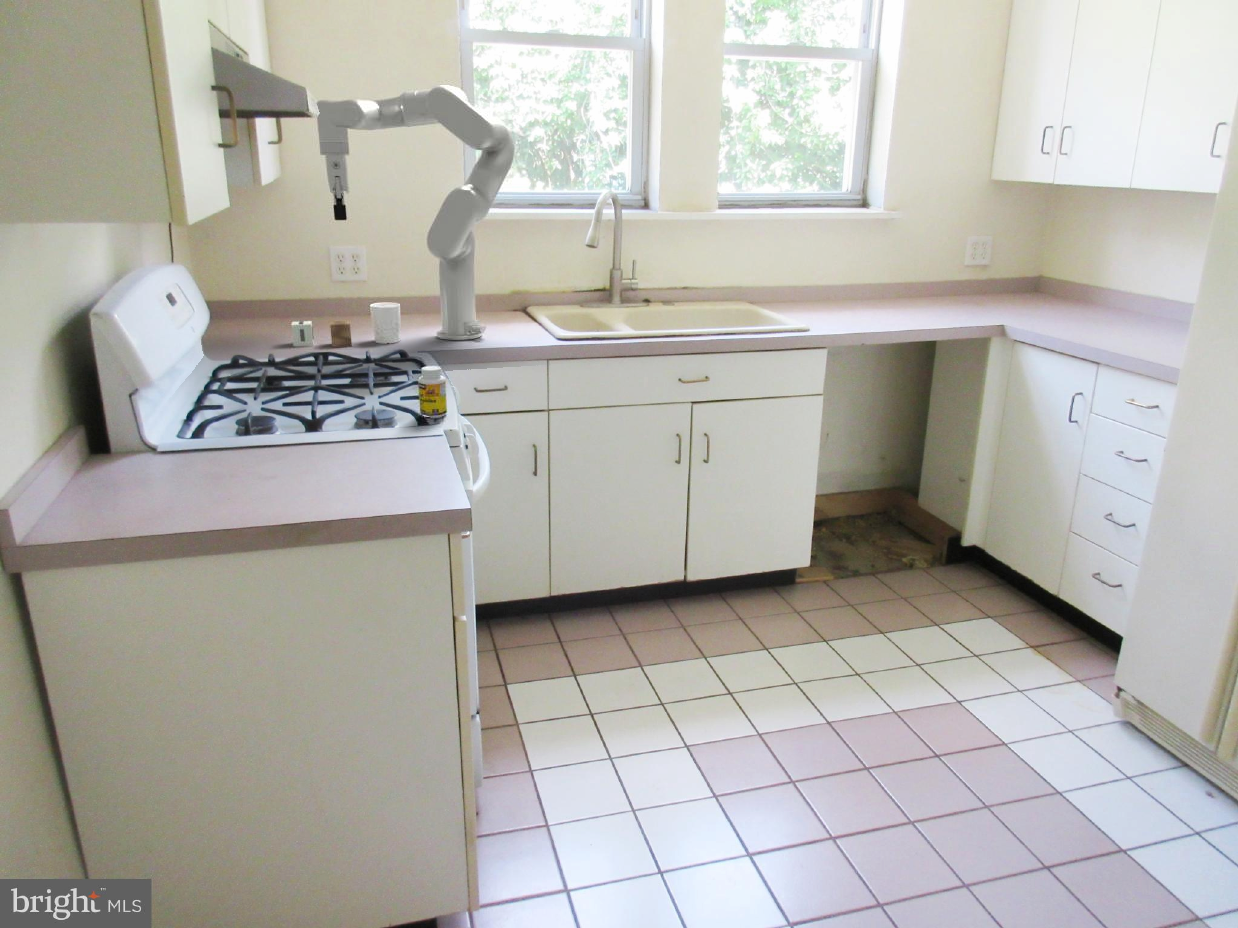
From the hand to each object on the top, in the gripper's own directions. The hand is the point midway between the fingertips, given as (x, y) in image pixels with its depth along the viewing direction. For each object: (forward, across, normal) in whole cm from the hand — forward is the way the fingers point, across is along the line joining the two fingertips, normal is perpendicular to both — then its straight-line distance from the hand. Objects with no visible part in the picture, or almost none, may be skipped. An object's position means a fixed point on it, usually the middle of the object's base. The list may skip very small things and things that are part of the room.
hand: (340, 220), depth 248 cm
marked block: (+31, -14, +12) cm, 37 cm away
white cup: (+31, -16, -9) cm, 36 cm away
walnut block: (+31, -18, +3) cm, 36 cm away
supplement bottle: (+31, -91, -14) cm, 97 cm away
